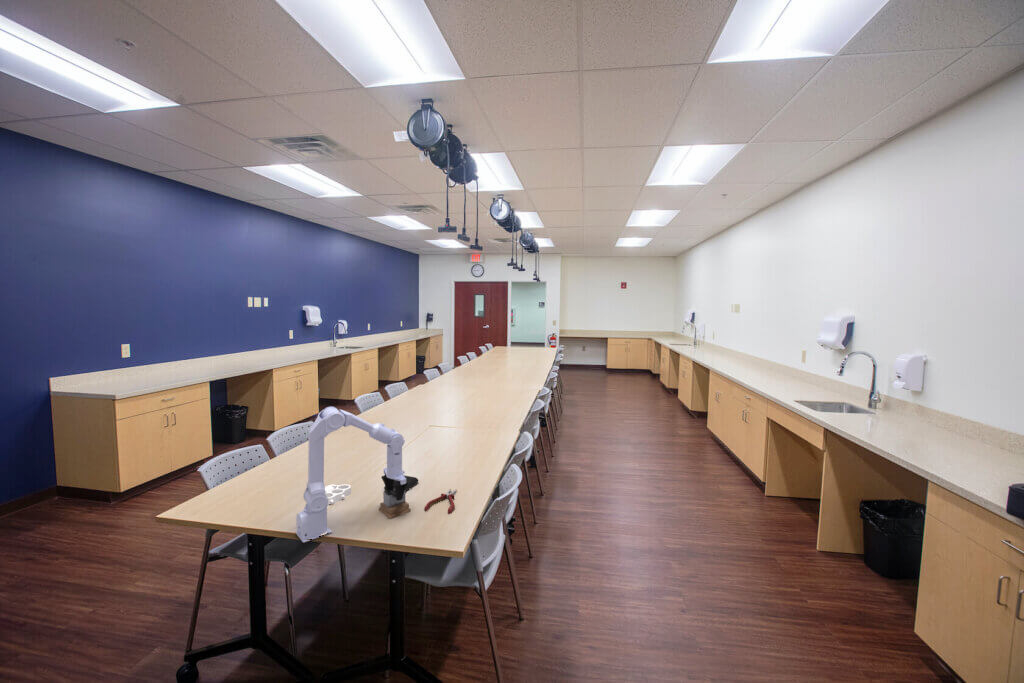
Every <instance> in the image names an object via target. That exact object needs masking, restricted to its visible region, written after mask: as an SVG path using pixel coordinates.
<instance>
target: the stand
mask: <svg viewBox="0 0 1024 683" xmlns="http://www.w3.org/2000/svg"><path fill="white" fill-rule="evenodd" d="M379 505H380V506H379V507H378V511H379V512H380V513H381V514H383V515H384V516H385V517H386V518H387V519H388V520H391V519H394V518H396V517H399V516H402V515H405V514H407V513H410V512H411V511H412V509H411V508H410V503H408V502H407V501H405V503H403V504H400V505H398V506H395V507H392V508H388V507H386V506H385V505H384V503H383V502H381V503H380V504H379Z"/></svg>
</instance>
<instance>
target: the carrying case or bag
mask: <svg viewBox="0 0 1024 683" xmlns="http://www.w3.org/2000/svg"><path fill="white" fill-rule="evenodd" d="M403 475H404V474H403ZM404 477H405V478H406V481H408V485H407V486H406V488H405V493H406V492H407V491H409V490H410V489H412V488H413V487H414V486H416V485H417V483H418V482H419V478H417V477H414V476H409V475H404ZM397 482H398V481H397V480H395V481H394V483H397ZM415 484H416V485H415ZM412 486H413V487H412ZM411 487H412V488H411ZM383 489H384V492H385V491H386V487H385V486H384V487H383ZM393 489H394V487H393ZM408 489H409V490H408Z"/></svg>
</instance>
